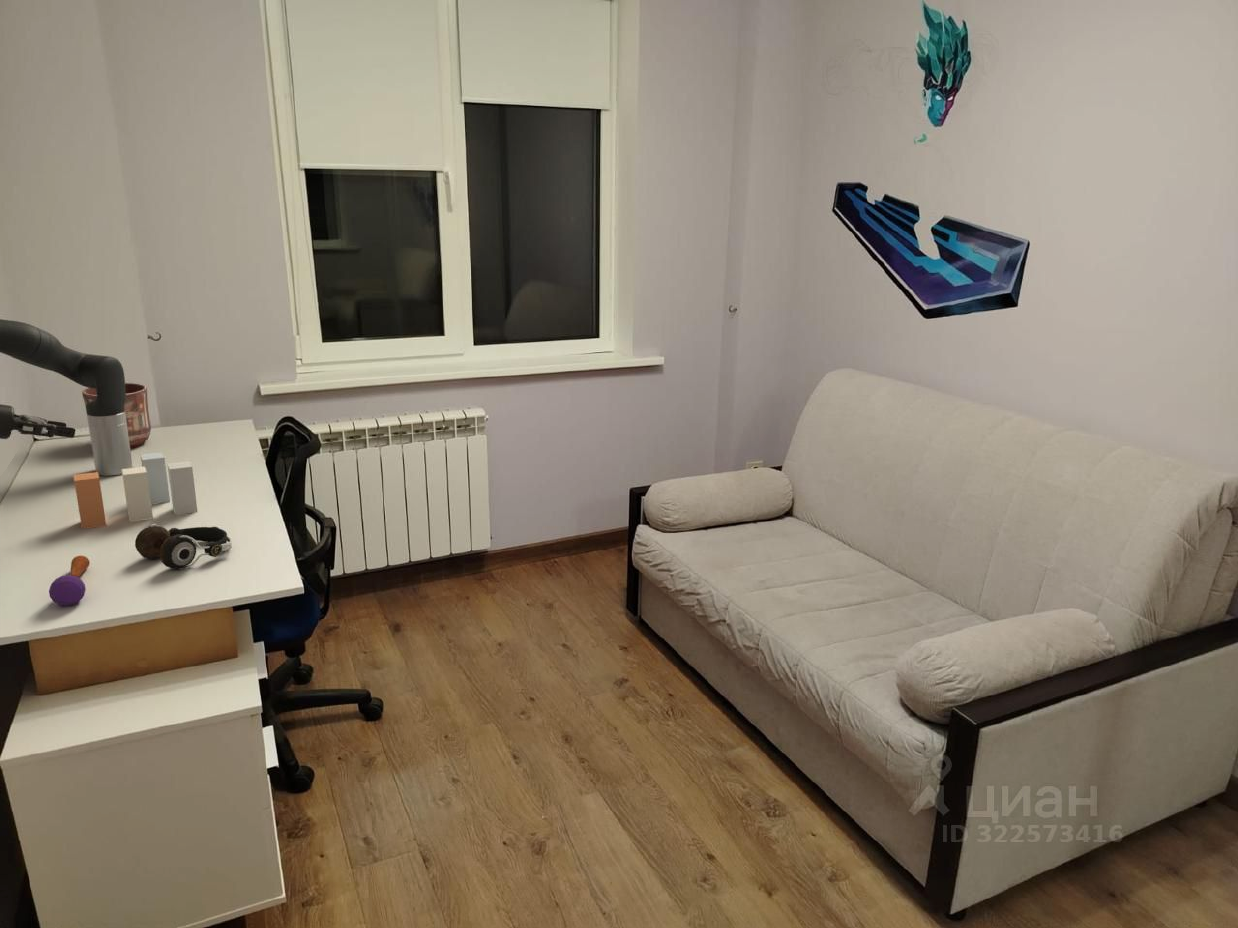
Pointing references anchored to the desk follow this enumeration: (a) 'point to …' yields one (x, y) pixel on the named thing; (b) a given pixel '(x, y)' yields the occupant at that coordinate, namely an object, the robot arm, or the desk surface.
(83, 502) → the rust block
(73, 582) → the purple maraca
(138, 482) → the cream block
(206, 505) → the desk surface
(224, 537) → the headset
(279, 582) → the desk surface
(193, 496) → the grey block
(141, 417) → the pottery
